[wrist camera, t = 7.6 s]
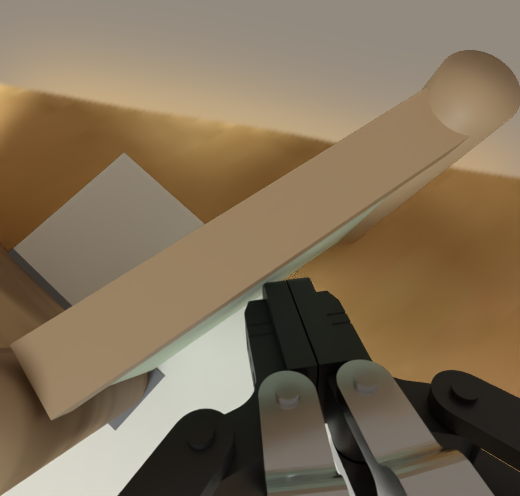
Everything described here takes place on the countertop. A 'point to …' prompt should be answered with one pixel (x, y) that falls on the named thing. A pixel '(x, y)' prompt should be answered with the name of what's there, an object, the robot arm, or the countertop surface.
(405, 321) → the countertop surface
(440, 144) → the swing panel
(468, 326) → the countertop surface
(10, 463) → the fixed fence
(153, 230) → the card
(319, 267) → the countertop surface
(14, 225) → the countertop surface
